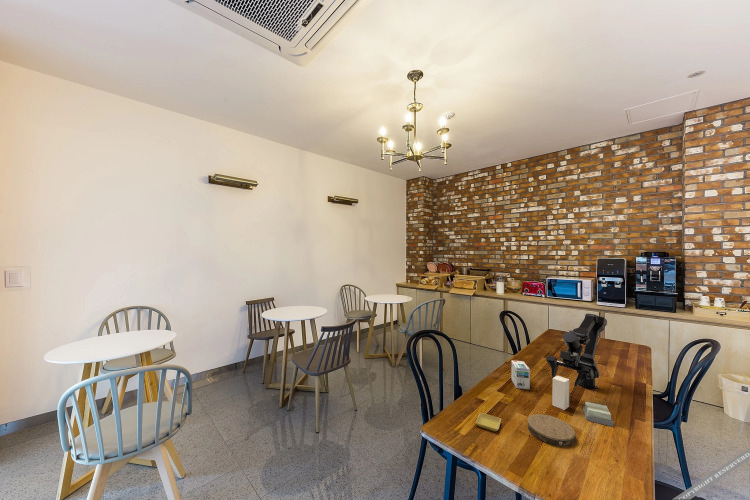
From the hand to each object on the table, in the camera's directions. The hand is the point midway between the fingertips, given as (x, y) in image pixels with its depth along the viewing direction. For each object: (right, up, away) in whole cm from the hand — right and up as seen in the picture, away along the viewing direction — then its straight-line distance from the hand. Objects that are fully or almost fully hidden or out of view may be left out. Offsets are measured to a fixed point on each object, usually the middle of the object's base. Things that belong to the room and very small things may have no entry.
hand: (563, 382), depth 134 cm
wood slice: (-19, -11, -21) cm, 30 cm away
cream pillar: (-2, -10, -2) cm, 11 cm away
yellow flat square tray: (-41, -10, -16) cm, 46 cm away
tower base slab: (+8, -11, -11) cm, 17 cm away
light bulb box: (-11, -10, +19) cm, 24 cm away
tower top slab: (+7, -8, -11) cm, 16 cm away
